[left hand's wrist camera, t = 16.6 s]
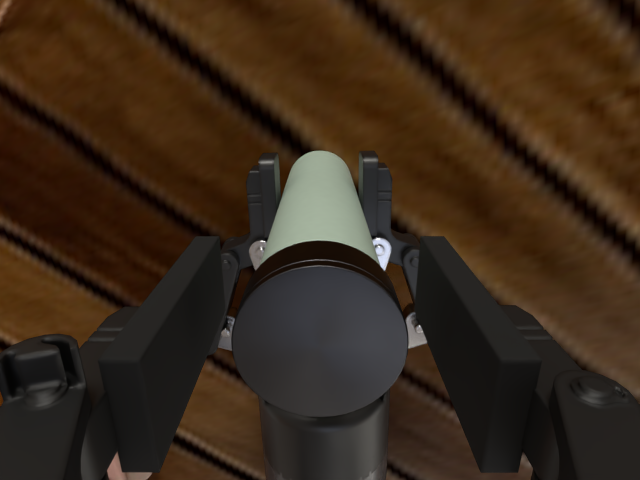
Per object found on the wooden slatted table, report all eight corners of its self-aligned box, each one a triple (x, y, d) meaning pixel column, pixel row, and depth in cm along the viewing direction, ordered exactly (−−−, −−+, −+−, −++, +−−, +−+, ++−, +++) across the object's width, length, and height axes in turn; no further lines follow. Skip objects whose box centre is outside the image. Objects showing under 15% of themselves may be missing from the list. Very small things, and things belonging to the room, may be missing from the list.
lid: (331, 207, 11) (333, 228, 9) (427, 321, 12) (443, 357, 10) (210, 302, 12) (193, 336, 10) (309, 399, 13) (308, 444, 11)
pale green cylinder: (329, 223, 28) (342, 416, 12) (277, 192, 27) (214, 352, 11) (363, 172, 27) (428, 309, 11) (309, 138, 26) (292, 230, 10)
